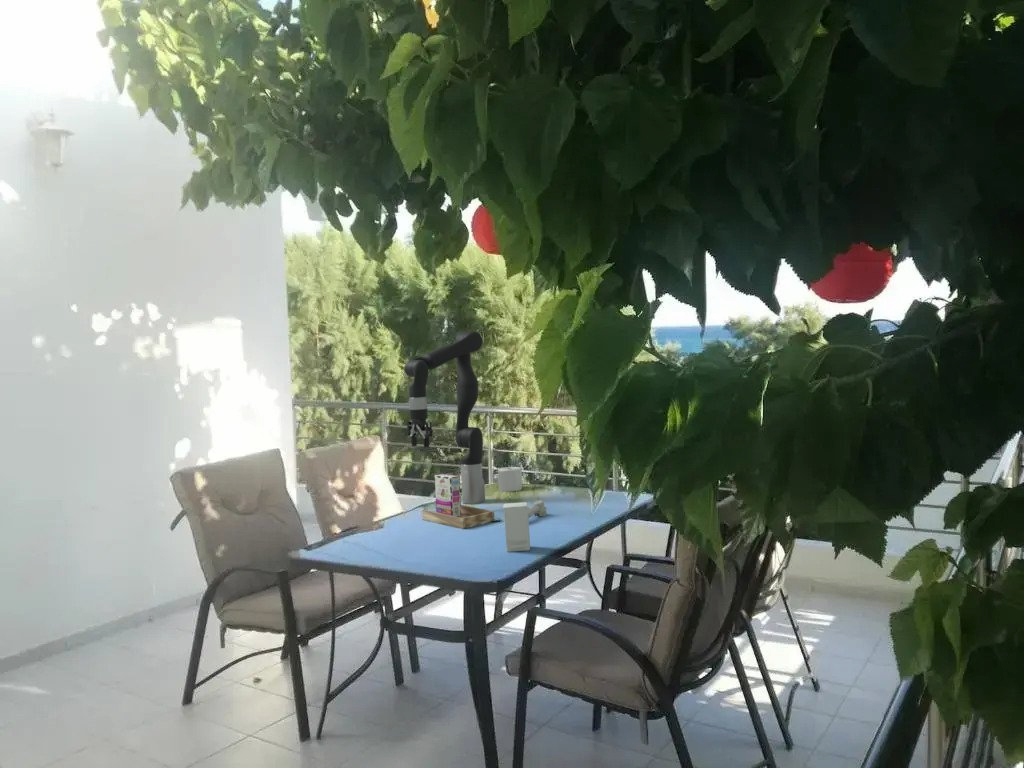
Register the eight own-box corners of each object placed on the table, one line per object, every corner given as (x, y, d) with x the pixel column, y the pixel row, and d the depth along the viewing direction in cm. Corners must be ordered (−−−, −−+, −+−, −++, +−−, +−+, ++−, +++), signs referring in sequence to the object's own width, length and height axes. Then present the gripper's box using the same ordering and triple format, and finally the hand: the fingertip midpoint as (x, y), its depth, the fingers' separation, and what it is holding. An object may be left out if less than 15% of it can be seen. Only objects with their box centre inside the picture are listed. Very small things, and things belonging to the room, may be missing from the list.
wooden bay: (453, 512, 344) (453, 503, 343) (494, 521, 324) (494, 511, 324) (422, 519, 333) (422, 510, 332) (463, 529, 314) (462, 518, 313)
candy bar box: (462, 516, 330) (460, 476, 329) (452, 518, 327) (450, 477, 326) (445, 512, 338) (443, 473, 337) (435, 515, 335) (433, 475, 334)
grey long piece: (504, 518, 313) (536, 496, 334) (506, 534, 314) (538, 512, 335) (516, 519, 310) (547, 497, 331) (518, 535, 311) (549, 513, 332)
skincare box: (529, 546, 284) (527, 501, 283) (530, 551, 278) (528, 505, 277) (505, 547, 284) (503, 502, 283) (505, 552, 278) (503, 506, 277)
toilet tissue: (523, 487, 394) (522, 466, 393) (520, 492, 382) (519, 470, 381) (501, 487, 395) (500, 467, 394) (497, 492, 383) (496, 471, 383)
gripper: (435, 407, 340) (437, 446, 341) (415, 406, 351) (417, 444, 352) (421, 409, 335) (423, 449, 336) (401, 408, 345) (403, 446, 346)
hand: (420, 446), depth 344 cm, fingers open, 8 cm apart
